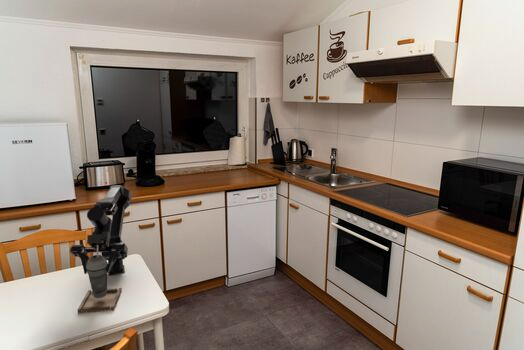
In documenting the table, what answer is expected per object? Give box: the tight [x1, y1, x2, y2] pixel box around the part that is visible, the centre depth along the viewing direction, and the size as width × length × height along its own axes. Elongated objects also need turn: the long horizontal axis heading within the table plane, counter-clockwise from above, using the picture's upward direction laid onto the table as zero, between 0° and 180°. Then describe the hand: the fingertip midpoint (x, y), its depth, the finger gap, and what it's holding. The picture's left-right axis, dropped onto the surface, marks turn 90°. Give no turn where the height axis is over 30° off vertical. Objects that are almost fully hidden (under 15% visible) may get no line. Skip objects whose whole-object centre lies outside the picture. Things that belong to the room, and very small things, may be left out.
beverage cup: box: [86, 245, 108, 298], centre depth 128 cm, size 7×7×20 cm
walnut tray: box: [77, 287, 123, 314], centre depth 131 cm, size 12×12×2 cm
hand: (96, 273), depth 127 cm, fingers closed on beverage cup, 7 cm apart
